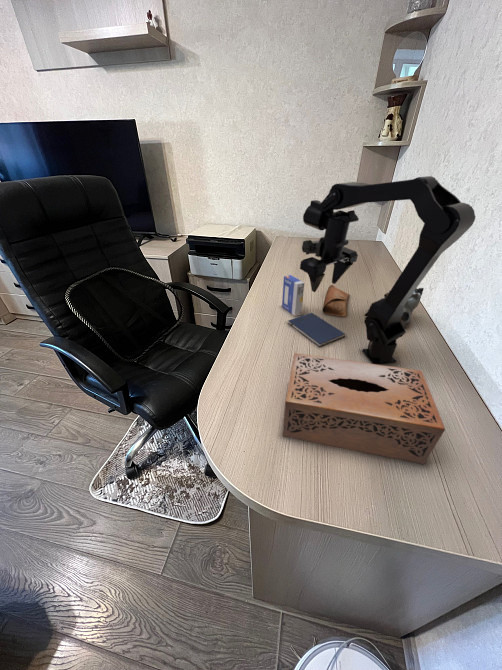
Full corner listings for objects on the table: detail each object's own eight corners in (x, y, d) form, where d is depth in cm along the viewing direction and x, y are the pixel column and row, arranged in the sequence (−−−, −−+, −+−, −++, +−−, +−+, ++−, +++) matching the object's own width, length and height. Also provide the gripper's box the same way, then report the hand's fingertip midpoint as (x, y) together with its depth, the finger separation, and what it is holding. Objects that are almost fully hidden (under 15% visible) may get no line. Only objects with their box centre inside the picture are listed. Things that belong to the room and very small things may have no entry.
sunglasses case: (347, 316, 93) (340, 299, 90) (327, 322, 96) (320, 306, 94) (349, 294, 107) (343, 278, 105) (332, 300, 111) (325, 285, 108)
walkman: (281, 306, 100) (283, 275, 93) (288, 305, 101) (290, 273, 94) (294, 316, 94) (298, 283, 87) (301, 314, 95) (305, 281, 88)
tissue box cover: (406, 404, 62) (422, 370, 56) (423, 464, 50) (445, 429, 45) (291, 385, 67) (294, 353, 61) (282, 435, 55) (285, 401, 50)
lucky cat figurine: (361, 308, 98) (383, 272, 94) (391, 322, 99) (414, 287, 95) (378, 319, 84) (405, 276, 80) (412, 335, 85) (440, 294, 81)
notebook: (344, 337, 84) (345, 333, 83) (319, 347, 80) (319, 343, 79) (311, 315, 95) (312, 312, 94) (287, 323, 90) (288, 320, 90)
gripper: (333, 222, 84) (323, 270, 94) (289, 232, 74) (283, 285, 84) (365, 232, 77) (350, 283, 87) (321, 245, 68) (310, 300, 77)
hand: (323, 287), depth 84 cm, fingers open, 9 cm apart
